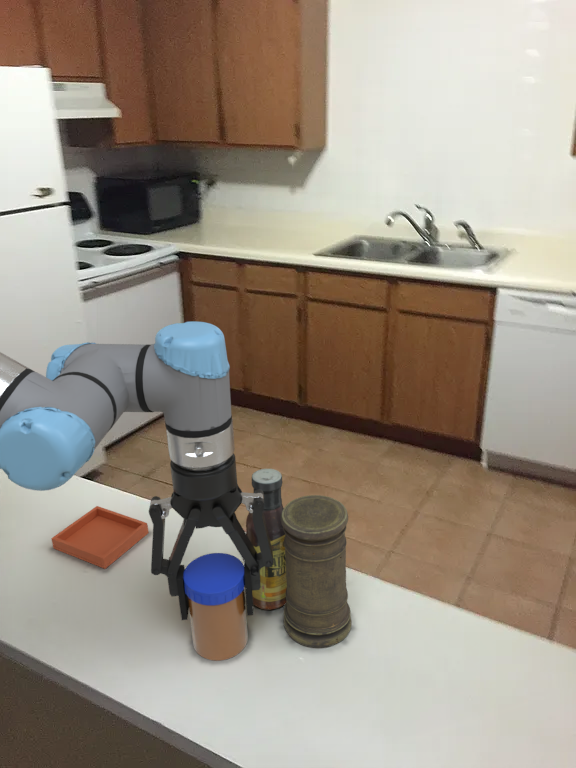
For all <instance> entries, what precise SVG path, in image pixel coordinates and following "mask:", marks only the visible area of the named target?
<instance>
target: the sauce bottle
mask: <svg viewBox="0 0 576 768" xmlns="http://www.w3.org/2000/svg"><path fill="white" fill-rule="evenodd" d="M251 486H252V488H253V492H254V491H255V490H258V489H260V490H262V491H263V493H264V509H263V513H264V517H265V521H266V525H267V530H268V534H269V538H270V542H271V546H272V550H273V566H271V567H266V566H264V567H262V568H261V569H260V584H261V587H260V589H259V590H252V595H253V606H255V607H256V608H259V609H261V610H264V611H265V610H266V611H267V610H268V611H269V610H276V609H279V608H282V607H283V606H285V605H286V603H287V599H286V588H287V579H286V560H285V547H284V538H285V532H284V529H283V526H282V523H281V514H282V511H283V509H284V505H283V498H282V488H283V487H282V486H283V474H282V473H281V472H280V471H279V470H277V469H274V468H261V469H257V470H255V471H254V472H253V473H252V475H251ZM245 528H246V529H245V530H246V531H245V533H246V535H247V536H248V538H249V540H250V541H251V543H252V545H253V546H254V548H255V550H256V551H257V553H260V552H261V551H260V547H259V543H258V539H257V535H256V532H255V528H254V524H253V518H252V513H250V512H249V511H248V514H247V516H246V521H245Z"/></svg>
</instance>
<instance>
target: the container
mask: <svg viewBox="0 0 576 768" xmlns="http://www.w3.org/2000/svg"><path fill="white" fill-rule="evenodd" d="M283 508H284V509H283V511H282V514H281V523H282V526H283V529H284V532H285V538H284V547H285V560H286V579H287V588H286V599H287V603H286V604H285V605H284V609H283V614H284V615H283V626H284V629H285V631H286V633H287V634H288V636H289V637H290V638H291V639H292V640H293V641H294V642H296V643H297V644H299V645H301V646H305V647H307V648H309V647H310V648H313V649H317V648H319V649H321V648H328V647H331V646H332V647H333V646H335V645H337V644H339V643H340V642H342V641H344V640H345V639H346V637H348V635H349V633H350V631H351V628H352V615H351V608H350V607H351V606H350V605H349V603H348V598H349V591H348V588H347V543H348V542H347V538H346V531H347V525H348V522H349V513H348V510H347V508H346V506H345V505H344V504H343V503H342V502H341V501H339V500H337V499H335V498H333V497H330V496H328V495H327V496H326V495H320V494H319V495H318V494H310V495H309V494H308V495H303V496H300V497H297V498H294V499H293V500H291V501H289V502H288V503H287V504H286V505H285V506H283Z"/></svg>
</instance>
